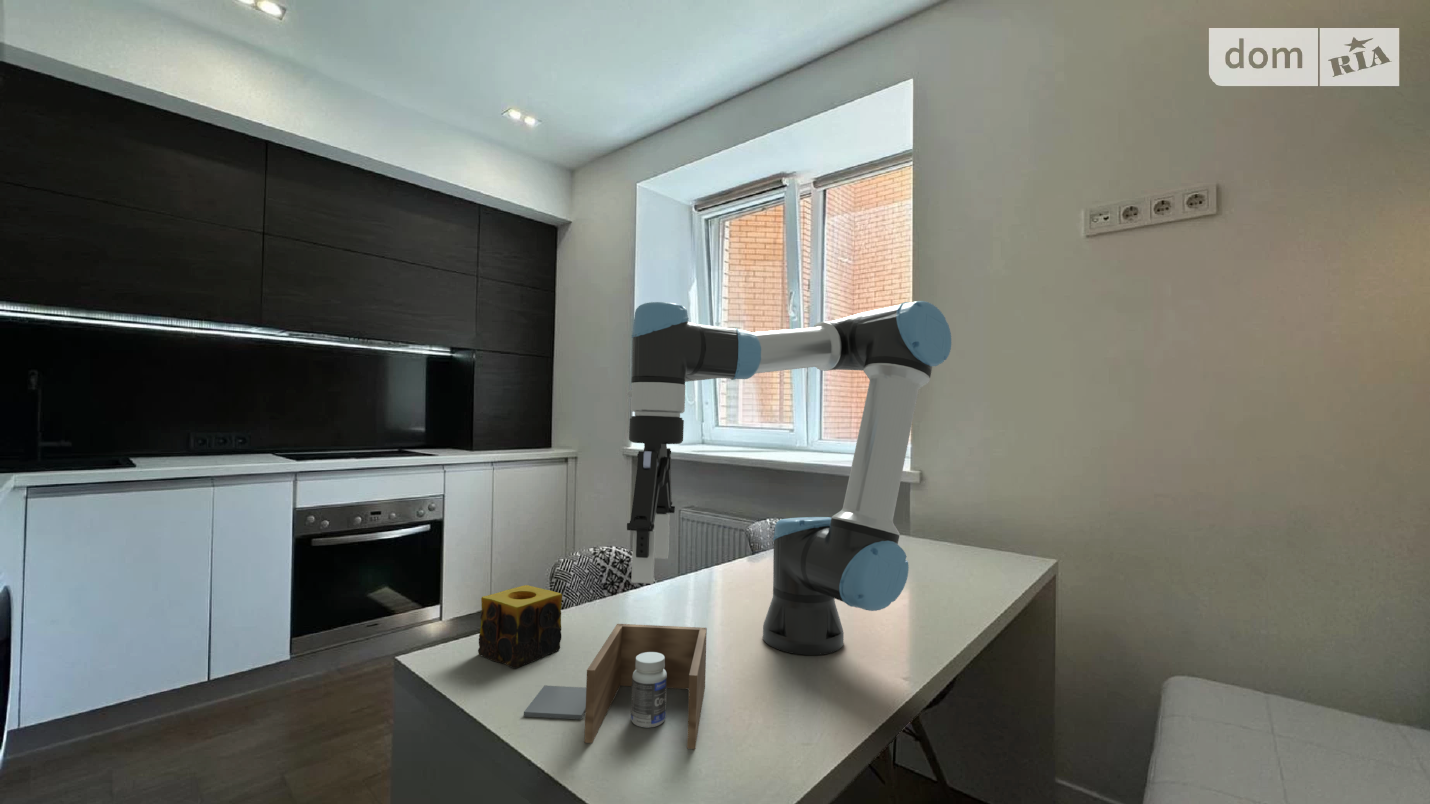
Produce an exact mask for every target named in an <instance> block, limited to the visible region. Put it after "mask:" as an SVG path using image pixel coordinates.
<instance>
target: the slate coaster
mask: <svg viewBox="0 0 1430 804" xmlns="http://www.w3.org/2000/svg"><path fill="white" fill-rule="evenodd" d="M585 712H586V687H583V686H582V687H581V686H565V685H561V686H560V685H546V684H545V685H543V687H541V689H540V691H539V692H538V693H537V694H536V696H535V697H534V698H533V699H532V701H531V702H530V703H529V705H528V706H527V707H526V708H525V710H524V711H523V717H526V718H527V717H528V718H529V717H531V718H547V719H549V718H550V719H565V720H566V719H567V720H582V719H583V718H584V717H585Z"/></svg>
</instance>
